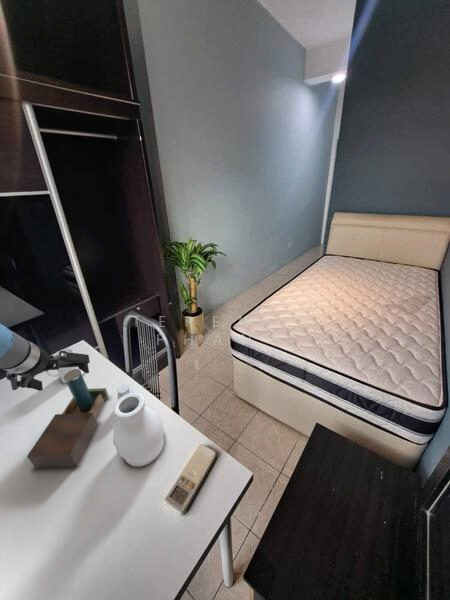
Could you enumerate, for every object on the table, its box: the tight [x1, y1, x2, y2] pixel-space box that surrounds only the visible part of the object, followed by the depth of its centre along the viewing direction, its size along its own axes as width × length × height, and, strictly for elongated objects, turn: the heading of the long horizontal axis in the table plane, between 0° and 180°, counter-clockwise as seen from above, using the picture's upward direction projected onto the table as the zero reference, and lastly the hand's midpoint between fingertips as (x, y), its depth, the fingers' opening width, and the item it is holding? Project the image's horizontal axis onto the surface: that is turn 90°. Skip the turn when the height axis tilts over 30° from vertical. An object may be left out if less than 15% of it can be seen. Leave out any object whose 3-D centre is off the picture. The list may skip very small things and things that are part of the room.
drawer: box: [61, 387, 110, 420], centre depth 88 cm, size 14×11×5 cm
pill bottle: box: [116, 383, 134, 401], centre depth 89 cm, size 5×5×9 cm
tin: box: [64, 369, 95, 412], centre depth 86 cm, size 5×5×16 cm
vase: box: [112, 392, 165, 467], centre depth 73 cm, size 14×14×20 cm
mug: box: [45, 348, 84, 384], centre depth 103 cm, size 12×8×12 cm
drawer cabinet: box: [26, 413, 99, 469], centre depth 77 cm, size 14×13×7 cm
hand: (64, 377), depth 79 cm, fingers open, 13 cm apart
